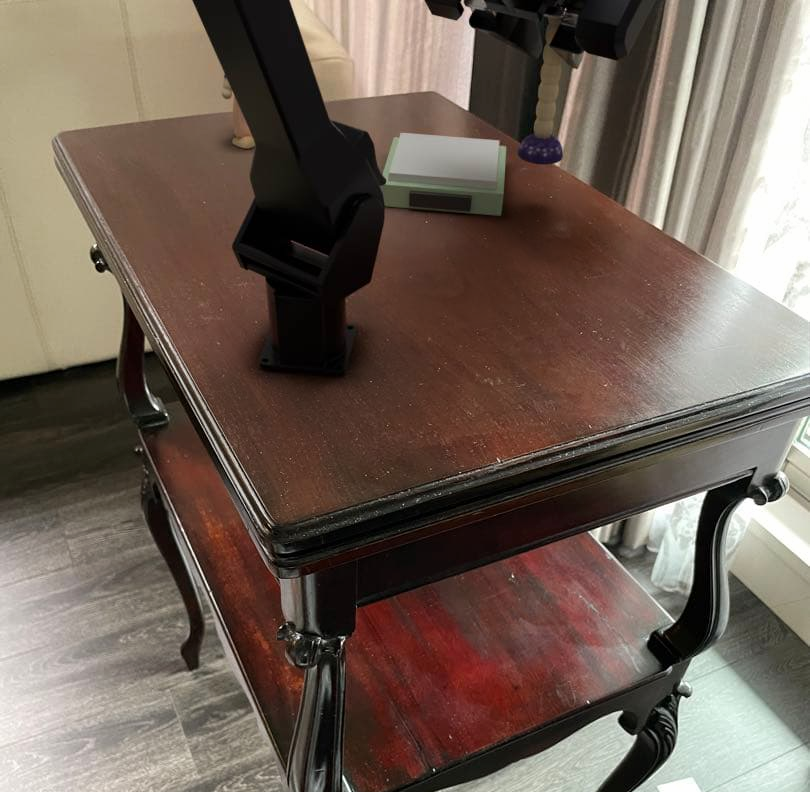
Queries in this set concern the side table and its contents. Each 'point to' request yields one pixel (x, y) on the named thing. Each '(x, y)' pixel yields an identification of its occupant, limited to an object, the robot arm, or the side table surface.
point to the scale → (445, 174)
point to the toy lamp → (545, 108)
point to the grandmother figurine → (238, 121)
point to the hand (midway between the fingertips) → (558, 58)
